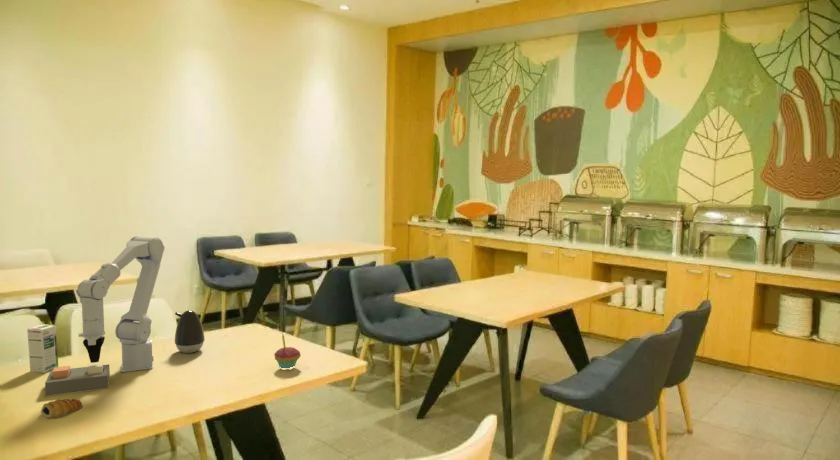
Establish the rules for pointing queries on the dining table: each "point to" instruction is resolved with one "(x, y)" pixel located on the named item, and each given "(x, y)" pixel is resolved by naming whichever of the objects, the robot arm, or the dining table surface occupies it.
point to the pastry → (60, 408)
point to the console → (77, 381)
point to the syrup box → (42, 348)
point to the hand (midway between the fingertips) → (94, 361)
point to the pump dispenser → (189, 332)
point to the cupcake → (287, 356)
